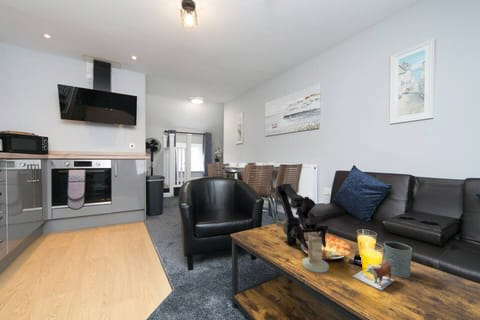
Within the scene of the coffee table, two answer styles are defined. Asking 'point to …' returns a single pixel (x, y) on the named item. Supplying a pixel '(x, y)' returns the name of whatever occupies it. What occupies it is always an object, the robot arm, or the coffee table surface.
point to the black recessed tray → (354, 262)
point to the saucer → (316, 269)
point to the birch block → (315, 250)
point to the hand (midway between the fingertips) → (316, 247)
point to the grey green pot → (398, 258)
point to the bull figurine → (380, 271)
